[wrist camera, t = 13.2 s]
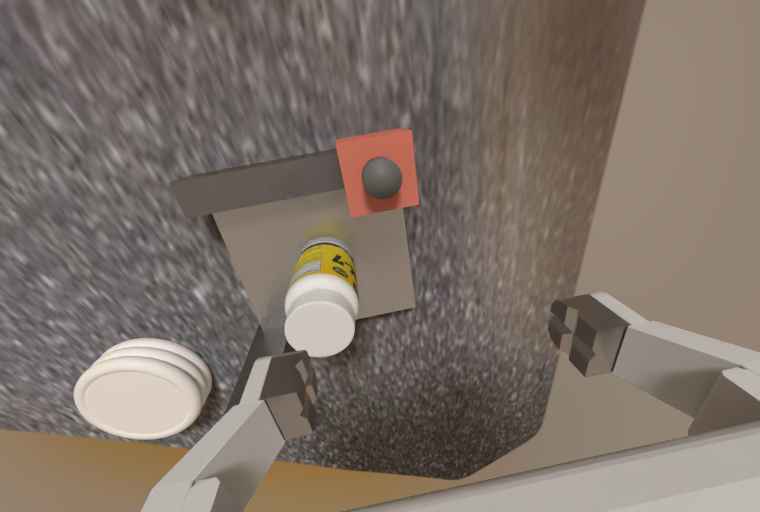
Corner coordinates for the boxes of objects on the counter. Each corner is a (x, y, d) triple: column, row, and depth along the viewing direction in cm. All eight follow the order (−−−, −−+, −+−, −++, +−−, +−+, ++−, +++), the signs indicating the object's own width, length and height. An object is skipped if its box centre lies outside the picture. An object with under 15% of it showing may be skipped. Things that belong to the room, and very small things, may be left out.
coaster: (128, 317, 25) (98, 344, 22) (233, 364, 29) (220, 393, 26) (83, 385, 28) (50, 419, 25) (185, 421, 32) (167, 454, 28)
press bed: (403, 136, 22) (449, 146, 13) (423, 312, 29) (461, 397, 20) (191, 175, 21) (80, 215, 12) (266, 345, 28) (232, 449, 19)
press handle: (397, 128, 18) (417, 130, 14) (404, 189, 20) (424, 210, 15) (336, 139, 18) (335, 145, 14) (349, 200, 20) (351, 224, 15)
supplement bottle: (364, 275, 25) (376, 342, 17) (317, 298, 25) (307, 375, 17) (336, 228, 23) (335, 282, 15) (285, 255, 23) (258, 320, 15)
